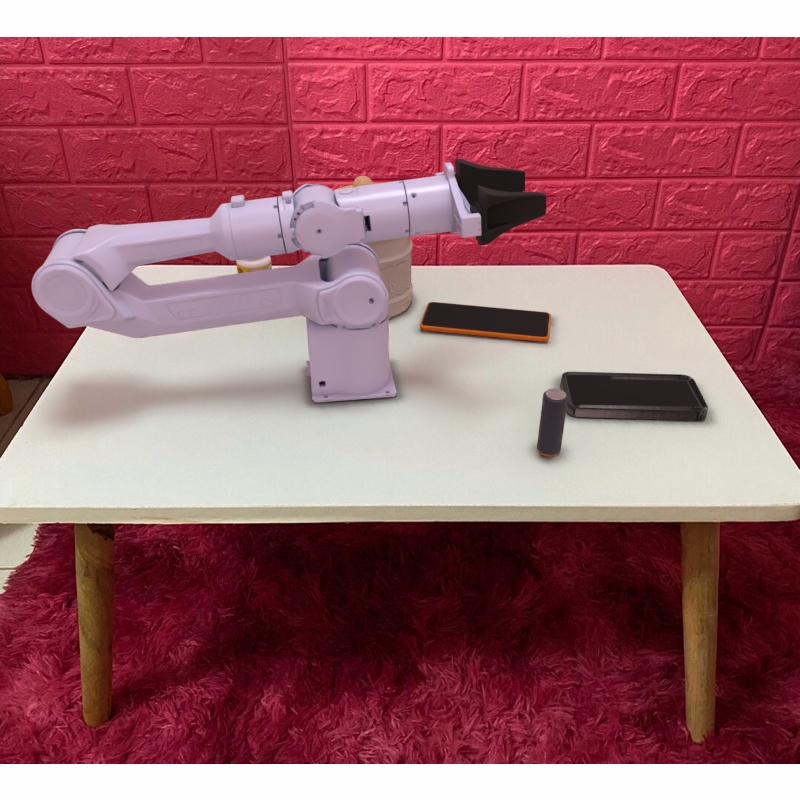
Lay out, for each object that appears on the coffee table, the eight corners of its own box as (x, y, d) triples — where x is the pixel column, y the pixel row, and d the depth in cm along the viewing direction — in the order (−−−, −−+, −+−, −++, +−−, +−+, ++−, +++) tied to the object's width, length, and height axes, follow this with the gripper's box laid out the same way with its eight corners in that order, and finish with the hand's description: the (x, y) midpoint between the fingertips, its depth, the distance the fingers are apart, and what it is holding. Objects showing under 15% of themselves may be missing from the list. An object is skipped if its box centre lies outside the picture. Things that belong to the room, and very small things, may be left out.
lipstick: (540, 459, 78) (547, 401, 74) (533, 445, 80) (540, 388, 76) (563, 457, 78) (571, 399, 74) (556, 443, 80) (563, 386, 76)
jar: (312, 288, 112) (303, 166, 102) (398, 278, 114) (398, 158, 105) (329, 329, 101) (321, 196, 91) (424, 317, 104) (426, 187, 94)
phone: (710, 412, 82) (569, 408, 83) (708, 421, 83) (568, 416, 84) (691, 374, 89) (560, 370, 90) (689, 382, 90) (559, 378, 90)
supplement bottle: (238, 294, 110) (231, 238, 105) (271, 290, 111) (266, 234, 106) (243, 308, 106) (236, 251, 101) (277, 304, 107) (272, 247, 103)
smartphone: (548, 343, 97) (549, 337, 97) (418, 331, 100) (418, 325, 100) (550, 316, 104) (551, 310, 103) (428, 305, 106) (428, 300, 106)
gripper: (413, 193, 71) (556, 174, 72) (393, 150, 83) (516, 134, 84) (418, 264, 75) (554, 245, 76) (398, 213, 87) (516, 197, 88)
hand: (534, 191), depth 80 cm, fingers open, 7 cm apart
